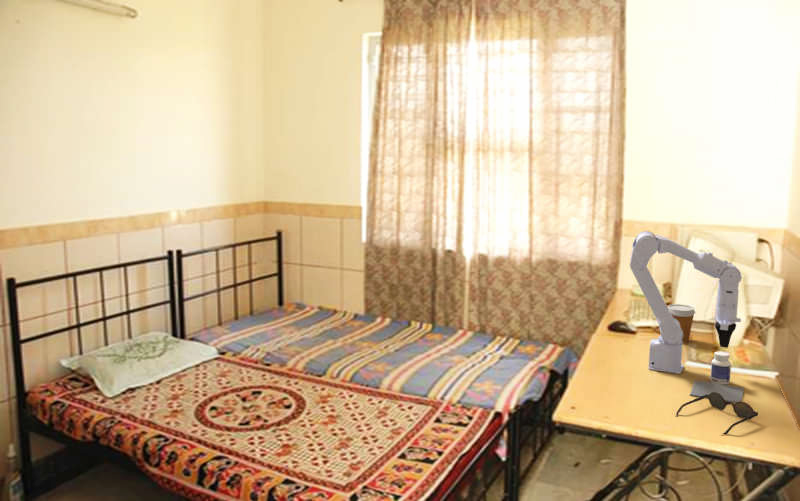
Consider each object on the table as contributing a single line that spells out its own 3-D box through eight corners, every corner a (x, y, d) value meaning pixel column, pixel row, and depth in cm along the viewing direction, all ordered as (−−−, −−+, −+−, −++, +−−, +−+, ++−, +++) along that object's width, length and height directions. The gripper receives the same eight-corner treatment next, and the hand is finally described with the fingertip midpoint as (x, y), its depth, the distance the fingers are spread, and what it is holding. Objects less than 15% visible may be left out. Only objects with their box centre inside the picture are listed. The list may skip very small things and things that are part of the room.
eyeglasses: (757, 424, 170) (759, 405, 169) (723, 438, 162) (724, 419, 162) (705, 404, 182) (706, 387, 182) (671, 417, 175) (672, 399, 174)
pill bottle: (731, 385, 194) (734, 356, 193) (712, 384, 195) (714, 356, 194) (726, 379, 199) (728, 351, 198) (708, 378, 200) (710, 350, 199)
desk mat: (690, 395, 188) (690, 394, 188) (694, 381, 198) (695, 380, 198) (741, 404, 181) (741, 402, 181) (743, 389, 192) (743, 387, 192)
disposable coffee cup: (697, 344, 232) (700, 310, 230) (670, 344, 232) (672, 311, 230) (686, 335, 241) (688, 303, 239) (660, 336, 242) (662, 304, 239)
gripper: (740, 310, 192) (737, 355, 195) (743, 299, 205) (739, 341, 207) (713, 308, 196) (711, 352, 198) (717, 297, 208) (715, 338, 211)
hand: (724, 346), depth 203 cm, fingers closed
